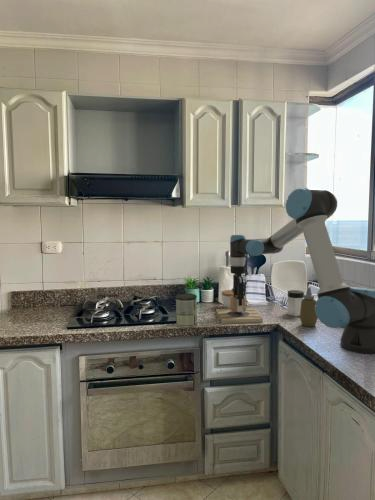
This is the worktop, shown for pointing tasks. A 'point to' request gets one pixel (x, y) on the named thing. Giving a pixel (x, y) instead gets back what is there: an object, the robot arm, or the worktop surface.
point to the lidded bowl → (227, 297)
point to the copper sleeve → (234, 303)
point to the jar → (295, 302)
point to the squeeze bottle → (308, 310)
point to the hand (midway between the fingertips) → (238, 309)
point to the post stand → (238, 316)
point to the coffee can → (186, 310)
